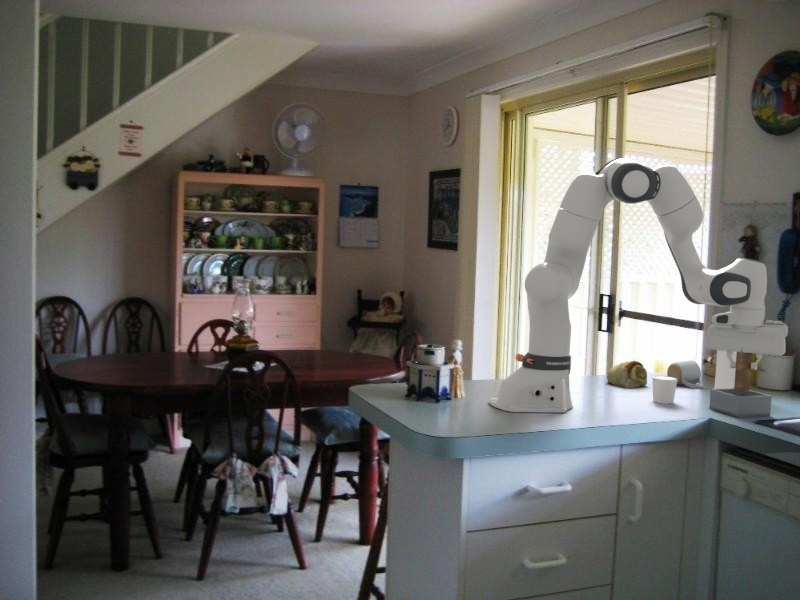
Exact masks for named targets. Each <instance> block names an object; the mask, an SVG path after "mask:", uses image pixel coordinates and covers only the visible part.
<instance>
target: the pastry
mask: <svg viewBox="0 0 800 600" xmlns="http://www.w3.org/2000/svg"><path fill="white" fill-rule="evenodd" d="M647 372H648V371H647V369H646V368H645V367H644V365H643V364H642V363H641V362H639V361H636V360H632V361H626V362H620V363H619V364H617V365H614V366H612V367H611V368H610V369H609V370H608V372H607V375H606V380H607V382H608V383H610V384H612V385H613V386H616V387H617V386H618V387H622V388H627V389H637V388H642V387H645V386H647V384H648V373H647Z"/></svg>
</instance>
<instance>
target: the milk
mask: <svg viewBox="0 0 800 600" xmlns="http://www.w3.org/2000/svg"><path fill="white" fill-rule="evenodd" d="M726 354H727V351H722V350H716V363H715V374H714V388H713V389H729V388H734V384H735V369H736V368H730V361H729V359H728V357H727V355H726ZM736 354H737V352H733V354H732V355H731V357H732V359H733V361H736Z"/></svg>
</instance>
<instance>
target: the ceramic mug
mask: <svg viewBox="0 0 800 600" xmlns="http://www.w3.org/2000/svg"><path fill="white" fill-rule="evenodd" d="M666 374H667V375H666V376H669V377H674V378H677V384H676V386H682V385H683V386H686V387H687V388H691V389H699V388H700V387H701V384H702V381H701V377H702V370H701V368H700V365H699V364H698V363H697V362H696V361H695V360H684V361H677V362H672V363H670V364H669V365H668V367H667V372H666Z"/></svg>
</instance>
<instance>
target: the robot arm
mask: <svg viewBox="0 0 800 600" xmlns="http://www.w3.org/2000/svg"><path fill="white" fill-rule="evenodd" d="M614 200H616V201H617V202H621V203H623V204H624V203H625V204H634V205H635V204H638V203H643V202H648V204H649V205H650V206H651V209H652V210H653V212H654V214H655V216H656V218H657V219H658V222H659V224H660V226H661V228H662V230H663V234H664V239H665V241H666V244H667V246H668V248H669V250H670V253H671V256H672V258H673V260H674V263H675V265H676V268H677V270H678V272H679V275H680V280H681V289H682V293H683V295H684V297H685V298H686V299H687V300H688V301H689V302H690V303H691V304H692V303H693V304H695V305H710V306H715V307H717V306H718V307H728V306H730V307H729V311H723V312H721V313H716V314H714V315H713V316H712V317H711V322H712V324H711V325H709V326H708V328H707V333H706V336H705V347H706V349H707V350H711V351H713V350H715V351H717V350H722V351H727V354H726V355H727V357H728V359H729V361H730V368H736V361H733V359H732V357H731V355H732V354H733V352H741V349H742V352H744V353H752V354H755V358H756V360H755V362H752V363H751V371H757V370H758V364H759V363H760V362H761V360H762V358H763V355H767V356H778V357H779V356H780V357H782V356H783V355H785V354H786V337H788V334H789V326H788V325H787V324H786V323H784V322H783V320H771V319H765V316H766V315H765V314H766V304H765V298H766V294H767V289H768V288H767V287H768V285H767V284H768V276H767V275H768V274H767V273H768V272H767V267H766V264H764V263H763V262H762V261H759V260H757V259H753V258H746V257H743V258H742V257H739V258H736V260H735V261H734V262H733V263H731V264H729V265H726V267H725V266H724V267H723V268H720V269H710V268H708V267H707V266H705V265H704V264H703V263H702V261H701V259H700V257H699V253H698V251H697V249H696V247H695V245H694V243H693V234H694V233H695V232H696V231H698V230H699V228H700V227H701V225H702V223H703V220H704V212H703V209H702V206H701V203H700V201H699V199H698V197H697V196H696V194H695V192H694V191H693V188H692V187H691V185H690V183H689V182H688V181H687V179H686V177H685V176H684V175H683V174H682V173H681V172H680V170H679V169H678V168H677V167H675V166H673V165H671V164H665V165H659V166H657V167H656V168H653V169H652V168H650V167H649V166H648V165H646V164H644V163H642V162H639V161H637V160H635V159H631V158H624V157H618V158H614V159H611V160H609V161H608V162H607V163H605V164H604V165H603V166H602V167H601V168H599V169H598V170H597V171H596V172H595V173H590V172H585V173H580V174H578V175H576V176H575V177H574V179H573V180H572V181H571V183H570V185H569V186H568V188H567V190H566V192H565V193H564V195H563V198H562V200H561V203H560V205H559V207H558V210H557V213H556V216H555V217H554V218H555V219H554V220H553V224H552V226H551V229H550V232H549V235H548V243H547V248H546V253H545V257H544V261H543V262H542V263H539V264H537V265H535V266H534V267H533V268H531V269H530V271H529V272H528V274H527V275H526V277H525V280H524V289H525V293H526V301H527V308H528V309H527V310H528V318H529V319H528V320H529V334H528V335H529V336H528V337H529V338H528V352H526V354H525V355H524V354H522V353H516V354H515V355H514V359H515V360H516V362H520V363H521V366H520V367H519V368H518V369H516V370H515V371H513V372H512V373H510V374H509V375H508V376H506V378H504V379H503V380H502V381H501V383H499V384H500V385H499V387H498V393H497V397H492V398H489V404H490V405H491V406H492V407H495V408H497V409H499V410H502V411H505V412H511V413H562V414H563V413H567V412H568V410H571V409H573V407H574V406H573V401H572V398H571V391H570V390H571V388H570V374H571V370H572V369H571V365H572V356H571V354H570V353H571V352H570V351H571V337H572V335H571V334H572V324H571V321H570V313H569V310H570V309H569V300H570V299H571V298H572V297H573V296H575V295H576V293H577V291H578V289H579V286H580V282H581V278H582V276H583V271H584V268H585V264H586V260H587V255H588V252H589V249H590V246H591V244H592V242H593V239H594V236H595V233H596V230H597V228H598V226H599V222H600V220H601V217H602V214H603V212H604V210H605V208H606V207H607V205H608V204H609V203H611V202H612V201H614Z"/></svg>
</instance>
